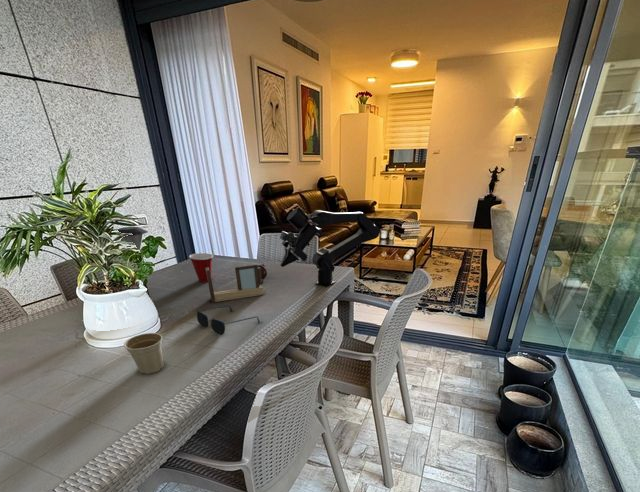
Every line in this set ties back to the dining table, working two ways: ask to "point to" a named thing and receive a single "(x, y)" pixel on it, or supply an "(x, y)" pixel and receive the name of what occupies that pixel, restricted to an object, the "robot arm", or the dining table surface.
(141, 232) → the solar garden light
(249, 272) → the brown picture frame
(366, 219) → the robot arm
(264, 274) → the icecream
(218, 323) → the sunglasses
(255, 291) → the wooden display stand
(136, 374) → the dining table surface
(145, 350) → the flower pot
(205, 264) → the plastic cup
